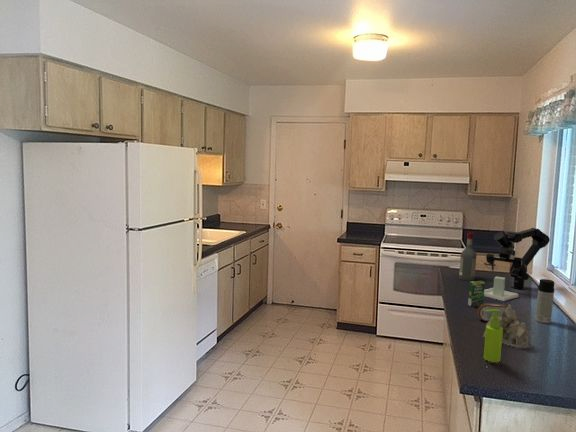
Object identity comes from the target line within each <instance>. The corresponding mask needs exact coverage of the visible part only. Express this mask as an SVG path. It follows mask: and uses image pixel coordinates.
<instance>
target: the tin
mask: <svg viewBox="0 0 576 432" xmlns="http://www.w3.org/2000/svg"><path fill="white" fill-rule="evenodd" d="M507 307H508V306H507V304H502V303H491V302H490V303H489V302H487V303H486V302H485V303H483V304H482V305H480V306H477V309H476V313H477V316H478V318H479V319H480V320H482V321H484V322H489V321H490V318H491V317H492V314H493V312H489V313H487V312H486V311H485V310H487V309H498V310H500V311H501V312H498V316H500V317H501V316H502V314H503V312H504V310H506V308H507Z"/></svg>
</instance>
